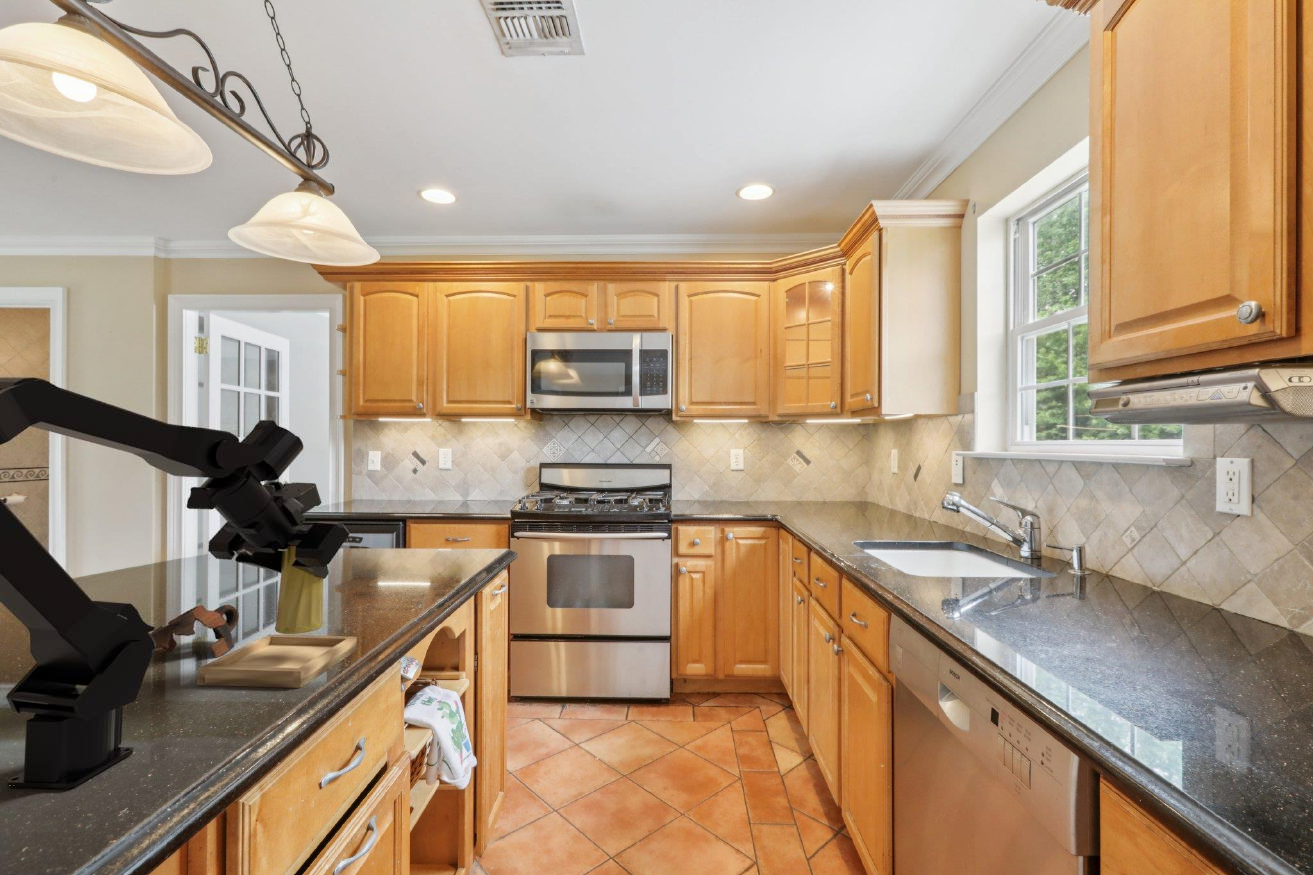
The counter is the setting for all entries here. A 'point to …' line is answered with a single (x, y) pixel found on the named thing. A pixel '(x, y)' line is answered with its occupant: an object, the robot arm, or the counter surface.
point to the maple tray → (278, 661)
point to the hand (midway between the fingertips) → (309, 574)
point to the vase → (298, 598)
